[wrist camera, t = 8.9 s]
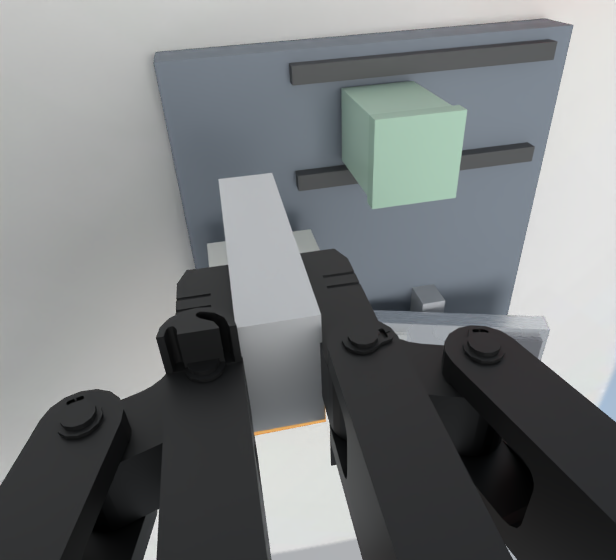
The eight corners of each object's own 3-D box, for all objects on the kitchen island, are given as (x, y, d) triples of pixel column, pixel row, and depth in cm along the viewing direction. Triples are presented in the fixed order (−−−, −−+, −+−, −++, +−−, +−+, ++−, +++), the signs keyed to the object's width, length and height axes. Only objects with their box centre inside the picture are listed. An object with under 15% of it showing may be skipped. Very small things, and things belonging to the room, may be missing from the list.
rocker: (342, 377, 29) (340, 394, 28) (341, 308, 26) (340, 325, 25) (524, 387, 28) (530, 405, 27) (544, 316, 25) (551, 333, 24)
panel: (224, 398, 32) (229, 448, 29) (155, 52, 20) (151, 73, 17) (479, 351, 34) (509, 393, 31) (545, 18, 23) (602, 31, 20)
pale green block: (339, 162, 22) (372, 209, 18) (339, 85, 20) (375, 119, 16) (410, 154, 22) (455, 197, 19) (415, 78, 21) (467, 109, 17)
